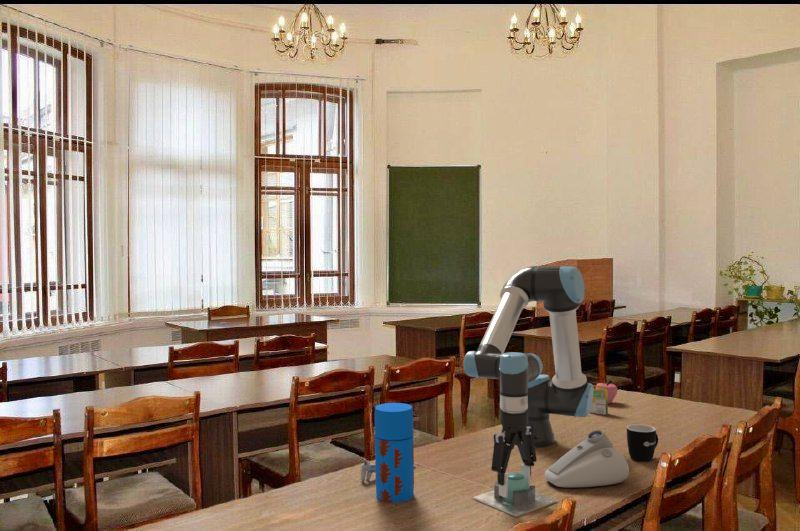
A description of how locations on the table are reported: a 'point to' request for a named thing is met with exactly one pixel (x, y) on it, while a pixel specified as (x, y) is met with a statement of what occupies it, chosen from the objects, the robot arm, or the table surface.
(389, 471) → the thermos
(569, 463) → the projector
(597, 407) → the crayon box
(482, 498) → the cradle fixture plate
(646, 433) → the mug
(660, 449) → the table surface
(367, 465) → the caliper
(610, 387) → the apple
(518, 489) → the cap
